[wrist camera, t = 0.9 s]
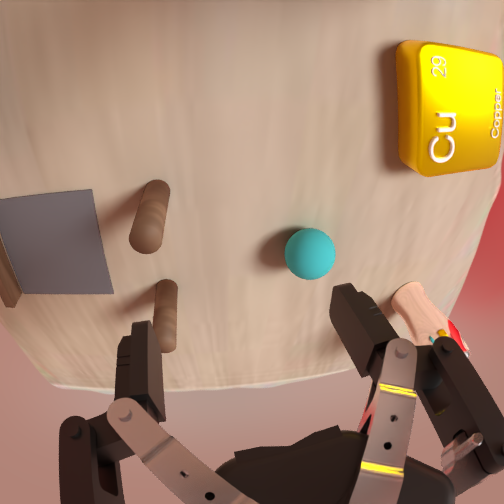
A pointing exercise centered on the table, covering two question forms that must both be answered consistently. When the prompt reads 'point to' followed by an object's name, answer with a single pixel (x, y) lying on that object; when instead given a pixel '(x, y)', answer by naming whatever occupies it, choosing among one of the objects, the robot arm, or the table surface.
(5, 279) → the strip
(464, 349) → the silver metal tumbler
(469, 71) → the element tile
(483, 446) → the robot arm
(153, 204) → the post
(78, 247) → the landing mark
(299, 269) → the ball
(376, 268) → the table surface
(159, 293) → the post
